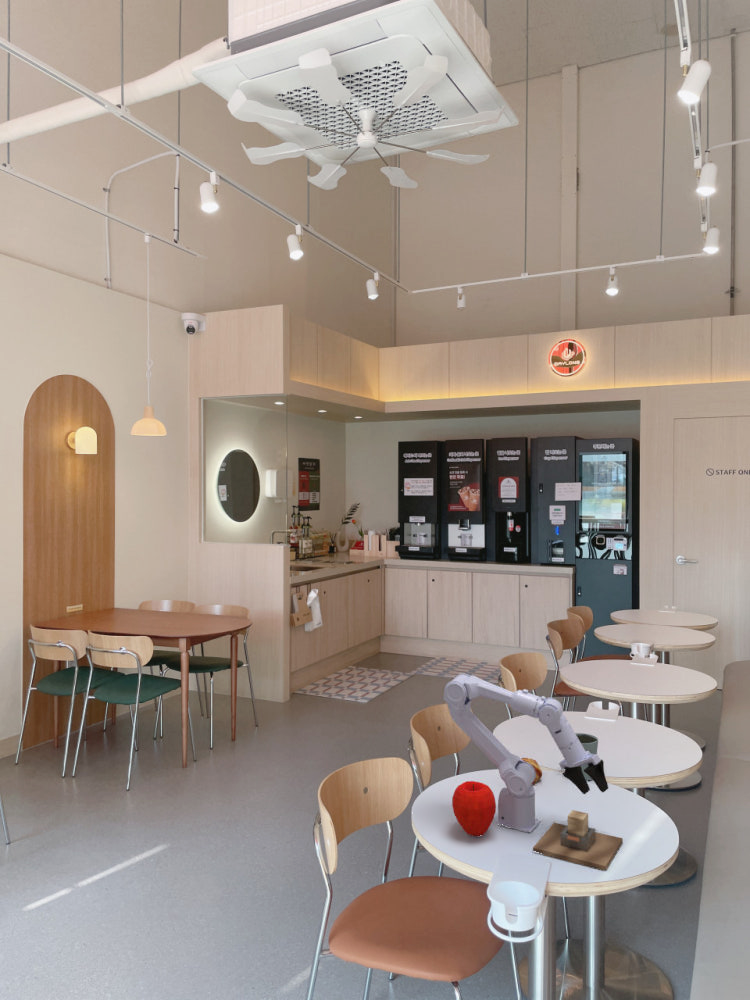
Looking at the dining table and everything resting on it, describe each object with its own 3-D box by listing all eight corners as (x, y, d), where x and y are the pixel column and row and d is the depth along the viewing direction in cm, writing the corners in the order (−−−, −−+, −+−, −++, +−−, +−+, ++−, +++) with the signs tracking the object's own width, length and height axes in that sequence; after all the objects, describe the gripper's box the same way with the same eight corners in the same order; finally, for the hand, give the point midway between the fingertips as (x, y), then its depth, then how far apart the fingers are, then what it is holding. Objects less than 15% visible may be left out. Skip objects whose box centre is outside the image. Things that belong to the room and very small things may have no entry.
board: (532, 852, 188) (532, 847, 188) (554, 826, 201) (554, 822, 201) (605, 871, 178) (605, 866, 178) (622, 842, 192) (622, 838, 192)
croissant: (525, 776, 245) (514, 753, 246) (552, 766, 241) (541, 742, 242) (507, 800, 226) (495, 775, 227) (536, 790, 222) (524, 764, 223)
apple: (444, 827, 202) (443, 778, 202) (482, 820, 206) (482, 771, 206) (464, 847, 191) (463, 795, 191) (505, 839, 195) (504, 788, 195)
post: (567, 843, 189) (567, 816, 189) (572, 836, 193) (572, 809, 193) (583, 847, 187) (583, 819, 187) (588, 840, 191) (588, 813, 190)
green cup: (564, 780, 232) (563, 741, 232) (565, 768, 242) (565, 731, 242) (598, 783, 229) (598, 744, 229) (598, 771, 239) (598, 733, 239)
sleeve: (560, 846, 188) (559, 834, 188) (569, 834, 195) (569, 822, 194) (587, 852, 185) (586, 840, 185) (595, 840, 191) (595, 828, 191)
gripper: (595, 732, 194) (623, 780, 191) (562, 739, 206) (588, 785, 203) (577, 745, 190) (606, 795, 188) (544, 752, 202) (571, 799, 200)
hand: (596, 791), depth 195 cm, fingers open, 7 cm apart
